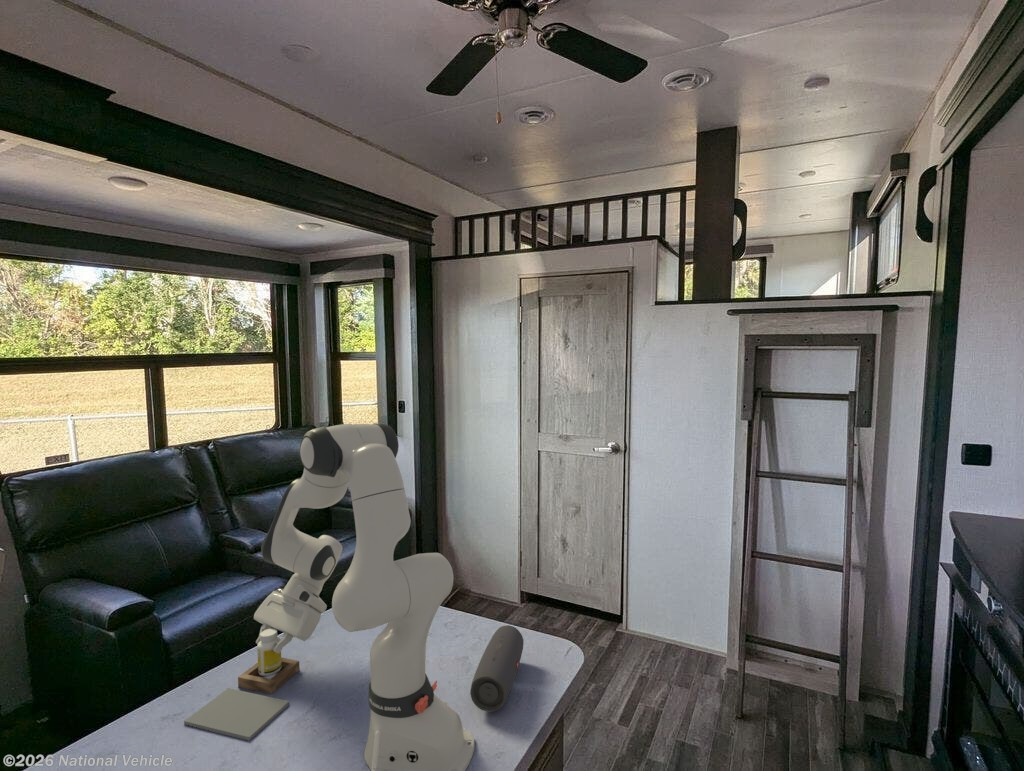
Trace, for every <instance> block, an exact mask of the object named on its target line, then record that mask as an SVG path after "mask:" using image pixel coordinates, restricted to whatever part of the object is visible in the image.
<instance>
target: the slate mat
mask: <svg viewBox="0 0 1024 771" xmlns="http://www.w3.org/2000/svg"><path fill="white" fill-rule="evenodd" d="M288 706H290V701H289V700H285V699H280V698H276V697H272V696H267V695H263V694H257V693H253V692H248V691H244V690H239V689H234V688H230V687H228V688H226V689H225V690H223V691H222V692H221V693H220V694H218V695H217V696H215V697H214V698H213V699H212V700H210V701H209V702H207V703H206V704H204V706H202V707H201V708H200V709H198V710H197V711H195V712H194V713H193V714H192V715H190V716H189V717H187V718H186V719H185V720H183V725H185V726H188V725H189V727H192V726H193V727H192V728H196V727H197V728H198V729H201V730H204V729H205V731H208V730H209V732H212V733H217V734H221V735H224V736H228V737H232V738H237V739H240V740H244V741H249V742H250V741H251V740H252V739H253V738H254V737H255V736H256V735H257V734H259V733H260V732H261V731H262V730H263V729H264V728H265V727H267V726H268V724H270V723H271V721H273V720H274V719H275V718H276V717H277V716H279V715H280V713H282V712H283V711H284V710H285V709H286V708H288Z"/></svg>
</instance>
